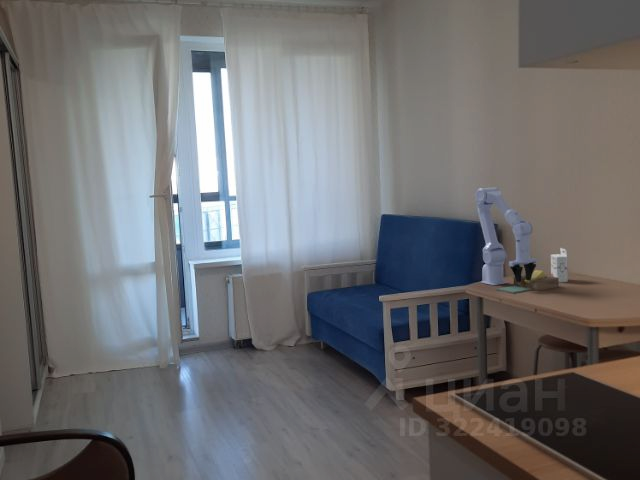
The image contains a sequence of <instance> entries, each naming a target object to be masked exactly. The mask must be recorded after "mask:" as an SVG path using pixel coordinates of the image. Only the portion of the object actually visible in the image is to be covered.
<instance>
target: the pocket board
mask: <svg viewBox="0 0 640 480" xmlns="http://www.w3.org/2000/svg"><path fill="white" fill-rule="evenodd" d="M525 279H526V274H524V275H521V282H516V279H515V276H514V277H513V286H518V287H523V288H528V289H531V290H532V289H533V290H532V291H537V290H538V291H543V290H549V289H554V288H559V283H560V282H558V278H557V277H551V275H550V276H549V275H545V277H544V278H538V279H532V280H529V286H528V285H526V284H525V282H524V280H525Z"/></svg>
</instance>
